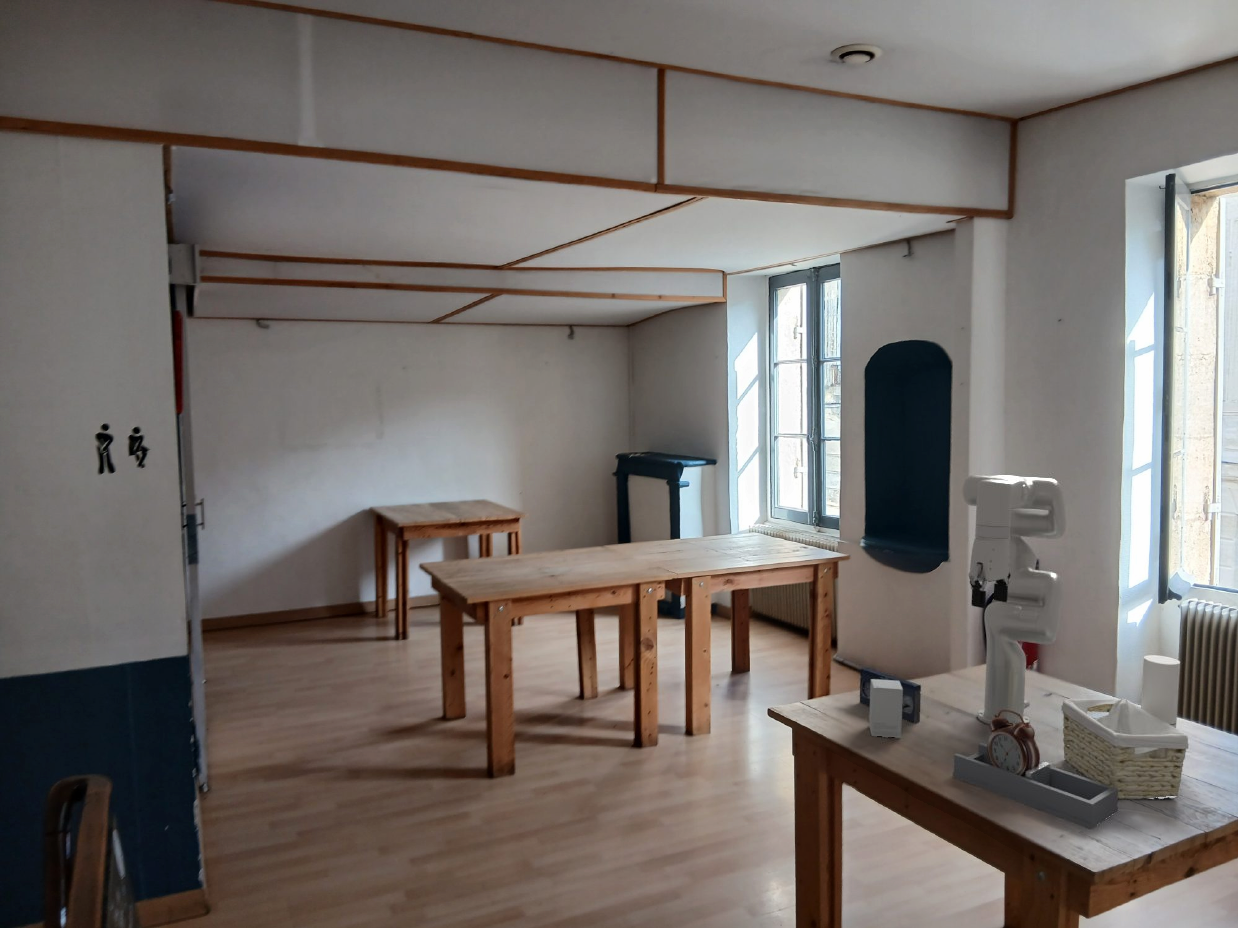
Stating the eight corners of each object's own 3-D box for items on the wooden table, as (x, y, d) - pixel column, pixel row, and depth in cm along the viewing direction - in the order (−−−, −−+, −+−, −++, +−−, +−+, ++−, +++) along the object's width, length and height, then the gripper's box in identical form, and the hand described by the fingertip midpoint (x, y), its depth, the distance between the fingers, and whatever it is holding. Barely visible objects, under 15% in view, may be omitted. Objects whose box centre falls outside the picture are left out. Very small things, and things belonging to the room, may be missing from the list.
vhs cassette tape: (858, 703, 246) (859, 668, 245) (866, 701, 247) (867, 666, 246) (913, 724, 230) (914, 686, 229) (920, 722, 232) (921, 684, 231)
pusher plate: (1043, 783, 192) (1044, 761, 192) (1049, 785, 192) (1050, 763, 191) (1024, 794, 187) (1025, 771, 187) (1030, 796, 186) (1031, 773, 186)
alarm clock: (987, 776, 197) (982, 707, 198) (1003, 772, 199) (997, 705, 200) (1029, 787, 187) (1023, 715, 189) (1044, 783, 189) (1038, 712, 191)
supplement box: (901, 738, 220) (903, 689, 219) (870, 736, 221) (872, 687, 220) (898, 728, 227) (900, 680, 226) (868, 725, 229) (870, 677, 228)
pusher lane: (981, 763, 206) (982, 742, 206) (1117, 811, 182) (1118, 788, 182) (952, 776, 199) (953, 754, 198) (1090, 828, 175) (1092, 804, 175)
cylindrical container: (1169, 760, 208) (1175, 656, 206) (1177, 772, 201) (1183, 665, 199) (1134, 756, 210) (1140, 653, 208) (1141, 768, 204) (1147, 662, 202)
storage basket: (1055, 756, 210) (1058, 696, 209) (1124, 757, 210) (1127, 696, 209) (1111, 803, 186) (1115, 735, 185) (1188, 804, 186) (1192, 736, 185)
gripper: (996, 527, 216) (993, 595, 217) (957, 533, 205) (954, 605, 207) (1026, 531, 210) (1023, 601, 211) (988, 537, 199) (984, 612, 201)
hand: (989, 603), depth 209 cm, fingers open, 9 cm apart
